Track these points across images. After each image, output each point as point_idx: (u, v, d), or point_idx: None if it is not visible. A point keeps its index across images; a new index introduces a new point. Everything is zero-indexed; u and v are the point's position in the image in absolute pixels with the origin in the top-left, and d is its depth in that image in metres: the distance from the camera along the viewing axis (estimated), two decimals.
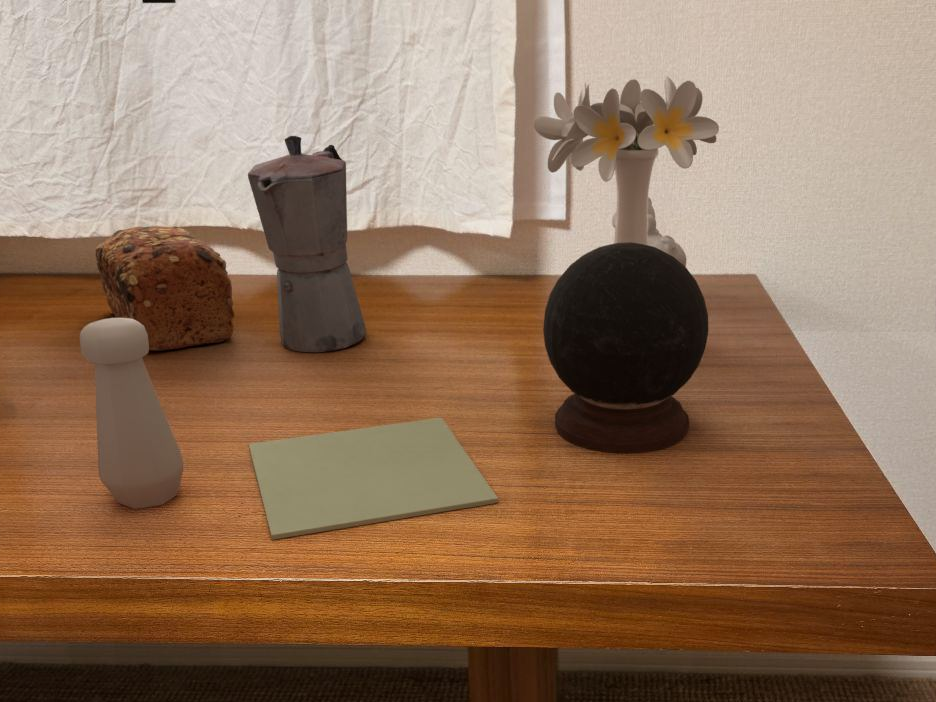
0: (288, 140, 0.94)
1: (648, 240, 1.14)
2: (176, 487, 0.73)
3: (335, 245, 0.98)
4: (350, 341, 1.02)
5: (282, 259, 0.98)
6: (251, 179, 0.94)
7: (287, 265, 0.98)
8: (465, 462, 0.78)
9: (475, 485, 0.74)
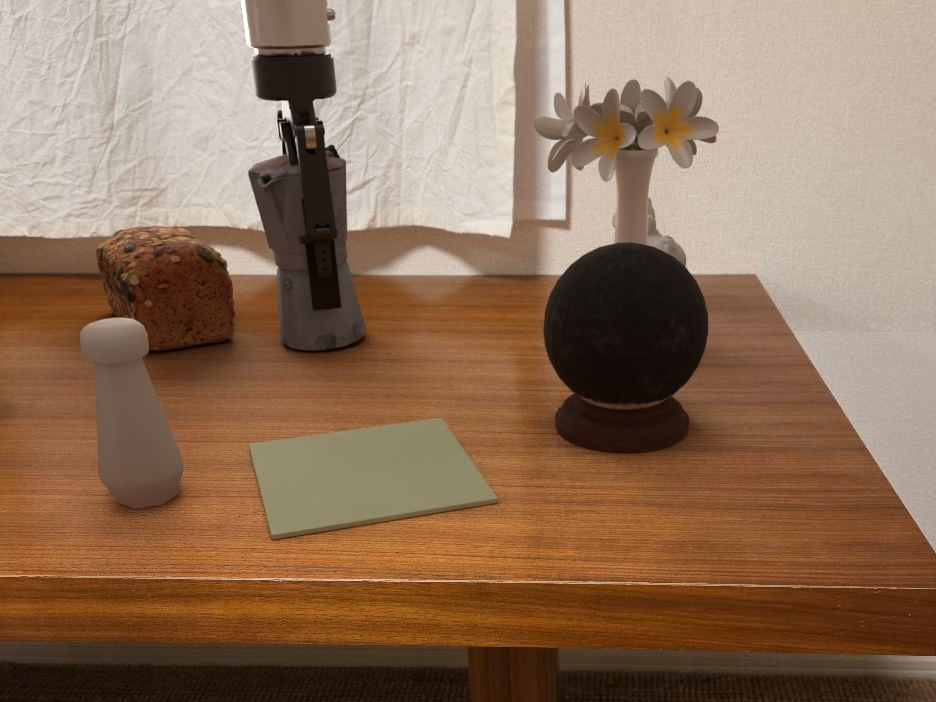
0: None
1: (648, 240, 1.14)
2: (176, 487, 0.73)
3: (335, 242, 0.98)
4: (350, 339, 1.02)
5: (282, 257, 0.98)
6: (251, 177, 0.94)
7: (286, 263, 0.98)
8: (465, 462, 0.78)
9: (475, 485, 0.74)
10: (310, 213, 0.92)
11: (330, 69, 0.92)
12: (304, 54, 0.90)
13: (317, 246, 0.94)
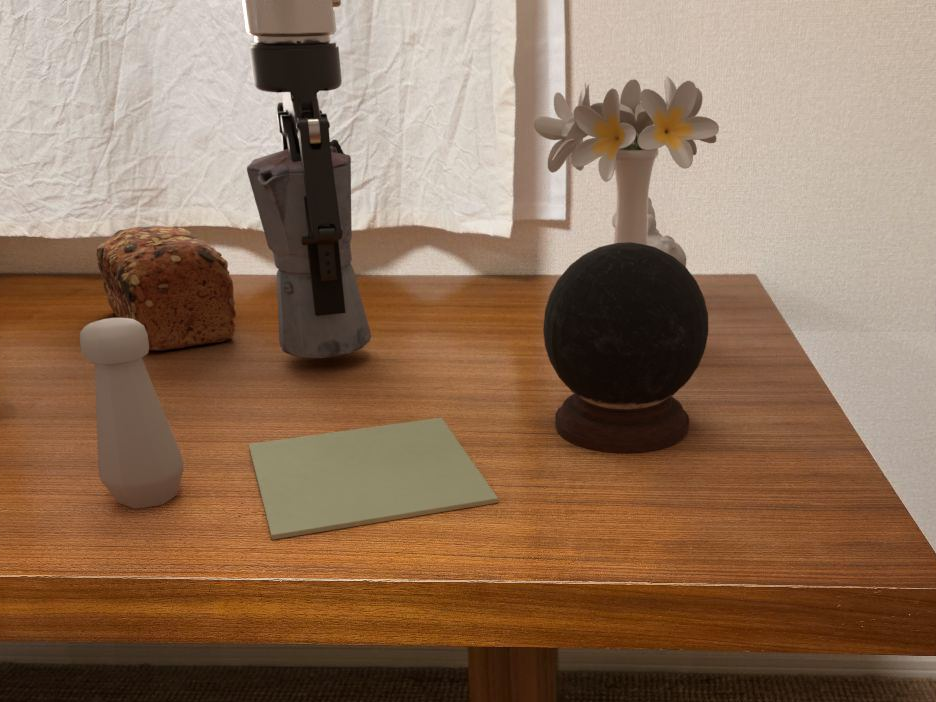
0: None
1: (648, 240, 1.14)
2: (176, 487, 0.73)
3: (339, 244, 0.92)
4: (354, 346, 0.96)
5: (282, 258, 0.92)
6: (250, 173, 0.88)
7: (287, 265, 0.92)
8: (465, 462, 0.78)
9: (475, 485, 0.74)
10: (313, 212, 0.86)
11: (335, 59, 0.86)
12: (308, 42, 0.84)
13: (320, 247, 0.89)
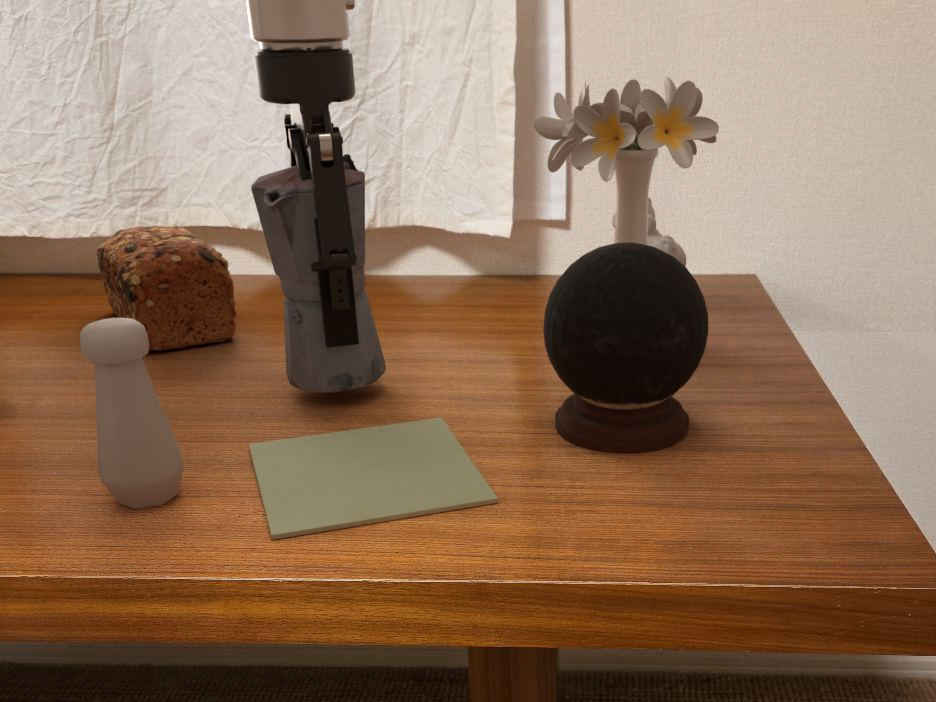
0: None
1: (648, 240, 1.14)
2: (176, 487, 0.73)
3: (352, 269, 0.84)
4: (368, 379, 0.88)
5: (290, 285, 0.84)
6: (255, 193, 0.80)
7: (296, 293, 0.84)
8: (465, 462, 0.78)
9: (475, 485, 0.74)
10: (325, 236, 0.78)
11: (349, 67, 0.78)
12: (319, 49, 0.76)
13: (332, 274, 0.81)
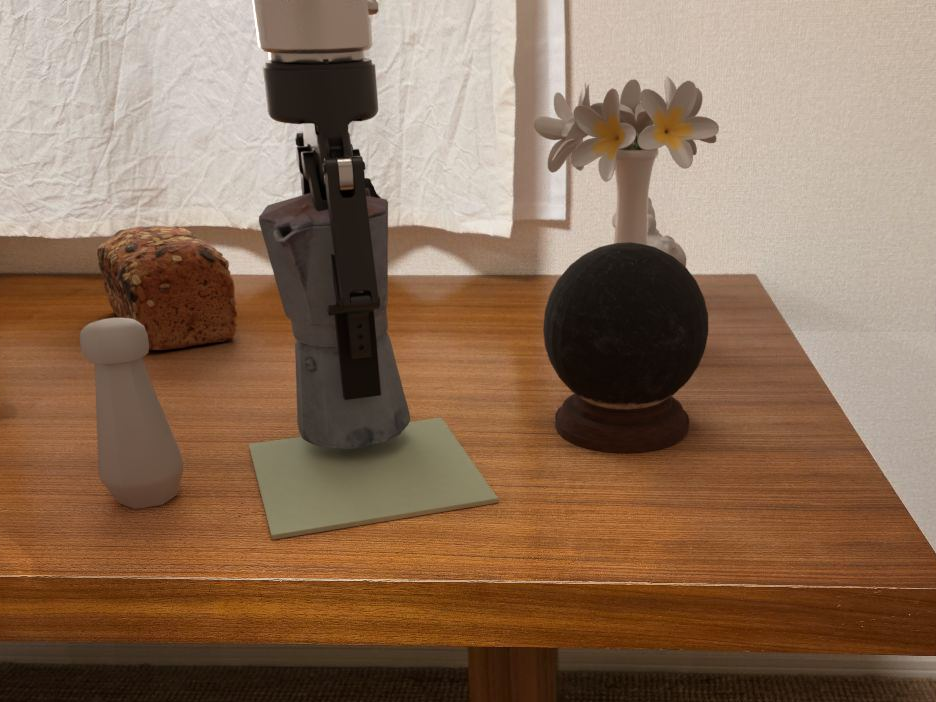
0: None
1: (648, 240, 1.14)
2: (176, 487, 0.73)
3: (374, 310, 0.74)
4: (391, 433, 0.78)
5: (303, 329, 0.74)
6: (263, 225, 0.70)
7: (309, 338, 0.74)
8: (465, 462, 0.78)
9: (475, 485, 0.74)
10: (344, 277, 0.67)
11: (372, 81, 0.68)
12: (337, 61, 0.65)
13: (352, 318, 0.70)
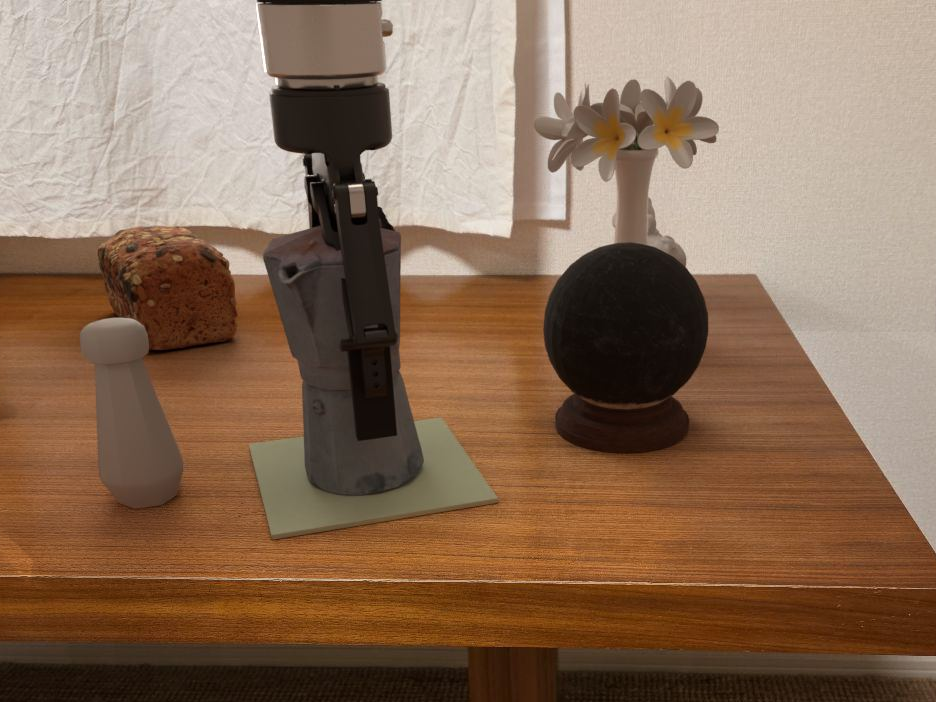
0: None
1: (648, 240, 1.14)
2: (176, 487, 0.73)
3: None
4: (403, 478, 0.74)
5: (310, 371, 0.69)
6: (268, 262, 0.65)
7: (317, 380, 0.69)
8: (465, 462, 0.78)
9: (475, 485, 0.74)
10: (357, 309, 0.62)
11: (385, 108, 0.63)
12: (349, 87, 0.61)
13: (366, 355, 0.65)
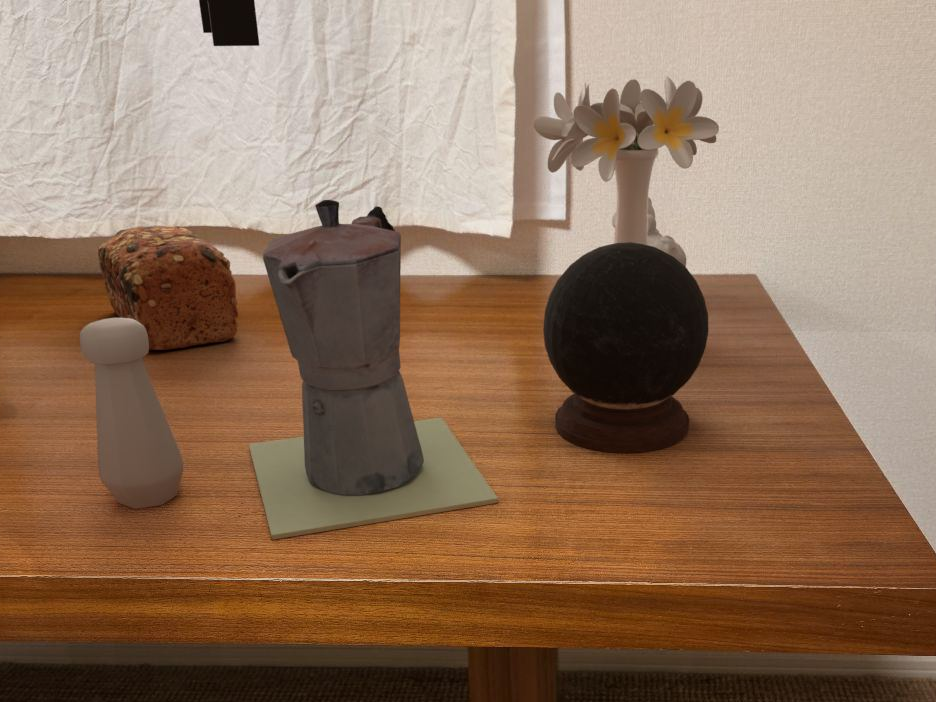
0: (320, 206, 0.65)
1: (648, 240, 1.14)
2: (176, 487, 0.73)
3: (386, 351, 0.69)
4: (403, 478, 0.74)
5: (310, 371, 0.69)
6: (268, 263, 0.65)
7: (317, 380, 0.69)
8: (465, 462, 0.78)
9: (475, 485, 0.74)
10: None
11: None
12: None
13: None
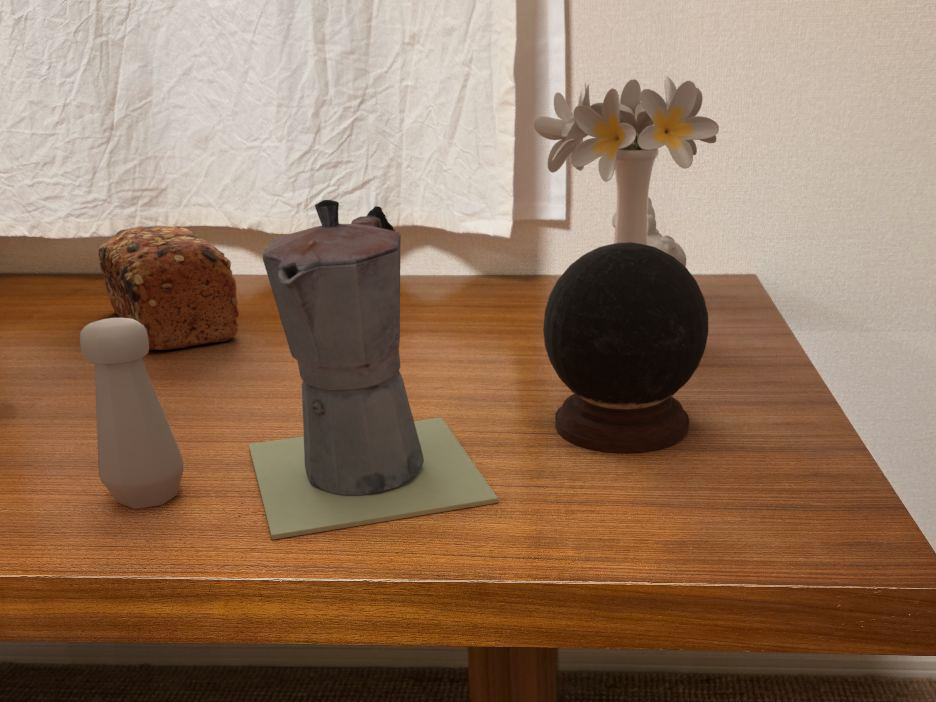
0: (320, 206, 0.65)
1: (648, 240, 1.14)
2: (176, 487, 0.73)
3: (385, 351, 0.69)
4: (403, 478, 0.74)
5: (310, 371, 0.69)
6: (267, 263, 0.65)
7: (317, 380, 0.69)
8: (465, 462, 0.78)
9: (475, 485, 0.74)
10: None
11: None
12: None
13: None
